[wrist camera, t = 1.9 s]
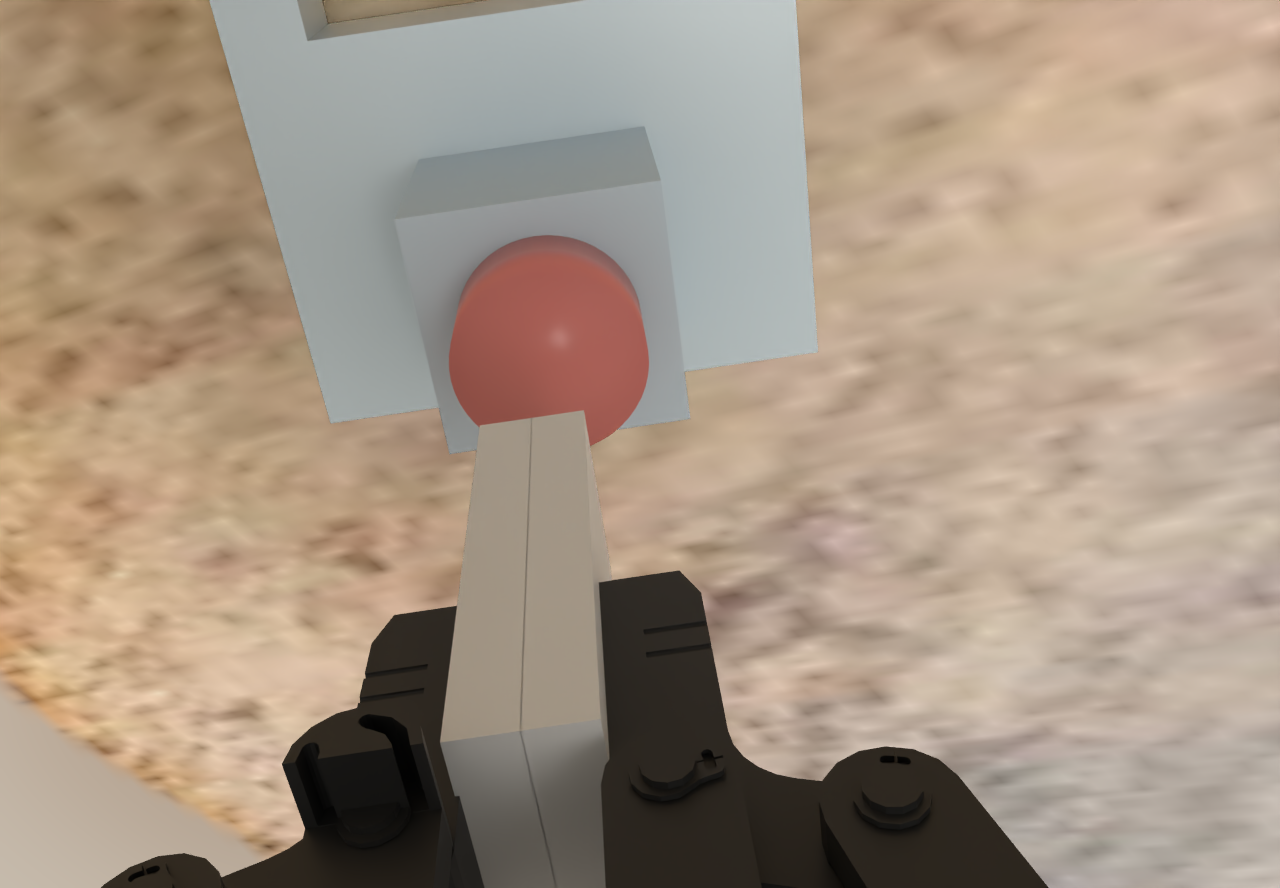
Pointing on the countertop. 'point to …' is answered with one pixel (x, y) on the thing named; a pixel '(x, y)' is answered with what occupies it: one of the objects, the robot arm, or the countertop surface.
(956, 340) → the countertop surface
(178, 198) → the countertop surface
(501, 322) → the plunger
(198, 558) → the countertop surface
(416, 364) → the frame
